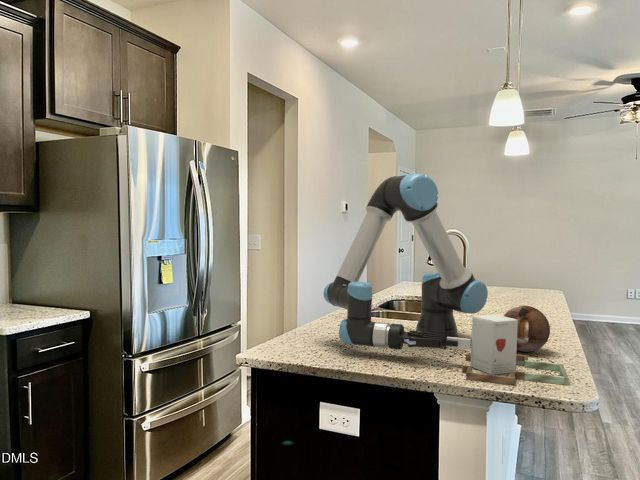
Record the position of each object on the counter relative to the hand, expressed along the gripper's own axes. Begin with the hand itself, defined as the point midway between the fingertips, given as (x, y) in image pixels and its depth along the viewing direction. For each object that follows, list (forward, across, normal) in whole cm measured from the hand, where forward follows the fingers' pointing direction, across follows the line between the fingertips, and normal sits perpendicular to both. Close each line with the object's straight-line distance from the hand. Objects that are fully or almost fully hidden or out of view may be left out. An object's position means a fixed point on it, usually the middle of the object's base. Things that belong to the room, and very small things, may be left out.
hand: (470, 344), depth 140 cm
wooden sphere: (+15, -27, -7) cm, 32 cm away
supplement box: (+6, -1, -7) cm, 10 cm away
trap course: (+12, -1, -7) cm, 13 cm away
